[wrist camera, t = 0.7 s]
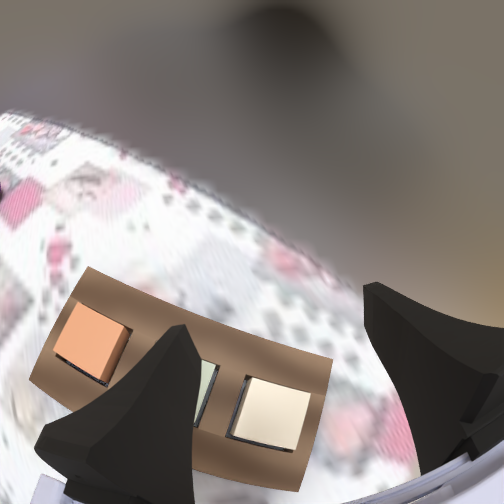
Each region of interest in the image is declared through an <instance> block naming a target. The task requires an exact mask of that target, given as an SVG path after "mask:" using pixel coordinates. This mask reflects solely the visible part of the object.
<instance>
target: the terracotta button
mask: <svg viewBox="0 0 504 504" xmlns="http://www.w3.org/2000/svg"><path fill="white" fill-rule="evenodd" d="M129 337H130V334H129V333H128V331H127V330H126V328H125V327H124V326H123V325H121V324H119V323H117V322H115V321H113V320H111V319H109V318H107V317H105V316H103V315H101V314H99V313H97V312H96V311H94V310H92V309H90V308H88V307H86V306H85V305H83V304H81V303H79V302H77V304H76V306H75V308H74V309H73V311H72V313H71V315H70V317H69V319H68V321H67V323H66V324H65V326H64V328H63V330H62V332H61V334H60V336H59V338H58V340H57V342H56V344H55V347H54V349H53V351H55V352H56V353H58V354H59V355H61V356H62V357H64V358H65V359H67V360H68V361H70V362H71V363H73V364H74V365H76V366H78V367H79V368H81V369H83V370H84V371H86V372H88V373H89V374H91V375H93V376H94V377H96V378H98V379H100V380H102V381H104V382H106V383H109V381H110V379H111V376H112V374H113V372H114V369H115V367H116V365H117V363H118V360H119V358H120V356H121V354H122V352H123V350H124V347H125V345H126V343H127V341H128V339H129Z"/></svg>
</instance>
